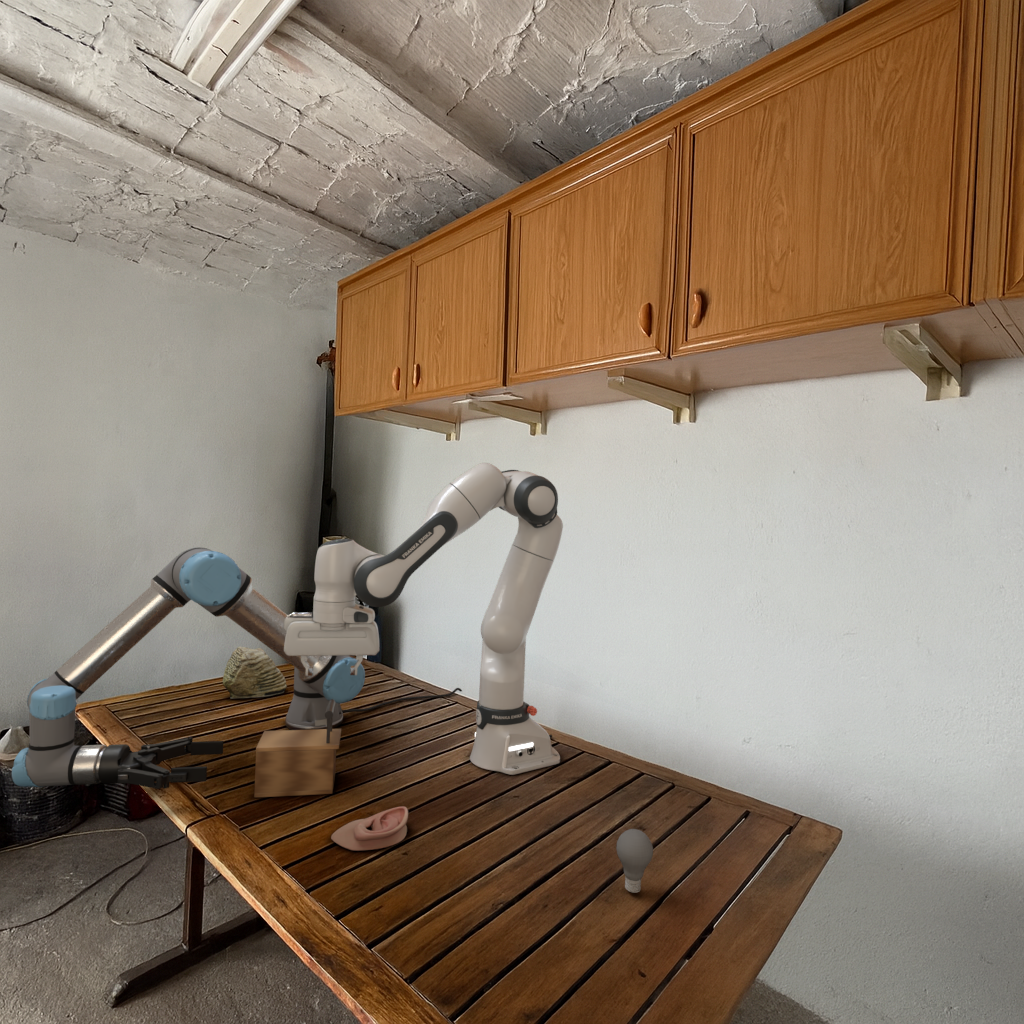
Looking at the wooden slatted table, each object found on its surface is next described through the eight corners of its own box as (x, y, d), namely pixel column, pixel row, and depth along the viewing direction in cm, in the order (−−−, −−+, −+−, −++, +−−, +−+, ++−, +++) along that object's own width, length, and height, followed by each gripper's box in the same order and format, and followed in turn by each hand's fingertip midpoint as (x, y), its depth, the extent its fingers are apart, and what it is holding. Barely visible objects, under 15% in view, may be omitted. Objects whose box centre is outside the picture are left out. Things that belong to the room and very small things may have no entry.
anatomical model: (323, 824, 115) (352, 795, 126) (322, 845, 115) (351, 815, 126) (392, 835, 112) (415, 805, 123) (391, 857, 112) (414, 825, 123)
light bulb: (610, 879, 108) (613, 822, 108) (644, 879, 109) (647, 822, 109) (619, 902, 102) (622, 840, 102) (655, 901, 103) (658, 840, 103)
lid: (341, 732, 145) (342, 697, 145) (338, 749, 135) (340, 712, 135) (264, 734, 141) (265, 699, 141) (255, 752, 132) (257, 714, 132)
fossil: (218, 695, 195) (220, 647, 195) (278, 685, 208) (279, 640, 207) (228, 703, 189) (230, 653, 188) (289, 692, 201) (290, 645, 201)
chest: (335, 774, 145) (337, 732, 145) (332, 793, 135) (334, 749, 135) (262, 777, 142) (264, 734, 141) (254, 797, 132) (255, 752, 132)
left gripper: (127, 757, 143) (228, 753, 147) (75, 811, 118) (197, 805, 123) (128, 724, 143) (229, 721, 147) (76, 772, 118) (199, 767, 122)
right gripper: (282, 614, 134) (279, 679, 134) (380, 615, 138) (378, 678, 138) (286, 609, 140) (284, 671, 140) (380, 610, 144) (378, 670, 145)
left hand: (215, 759), depth 135 cm, fingers open, 13 cm apart
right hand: (331, 675), depth 139 cm, fingers open, 8 cm apart
